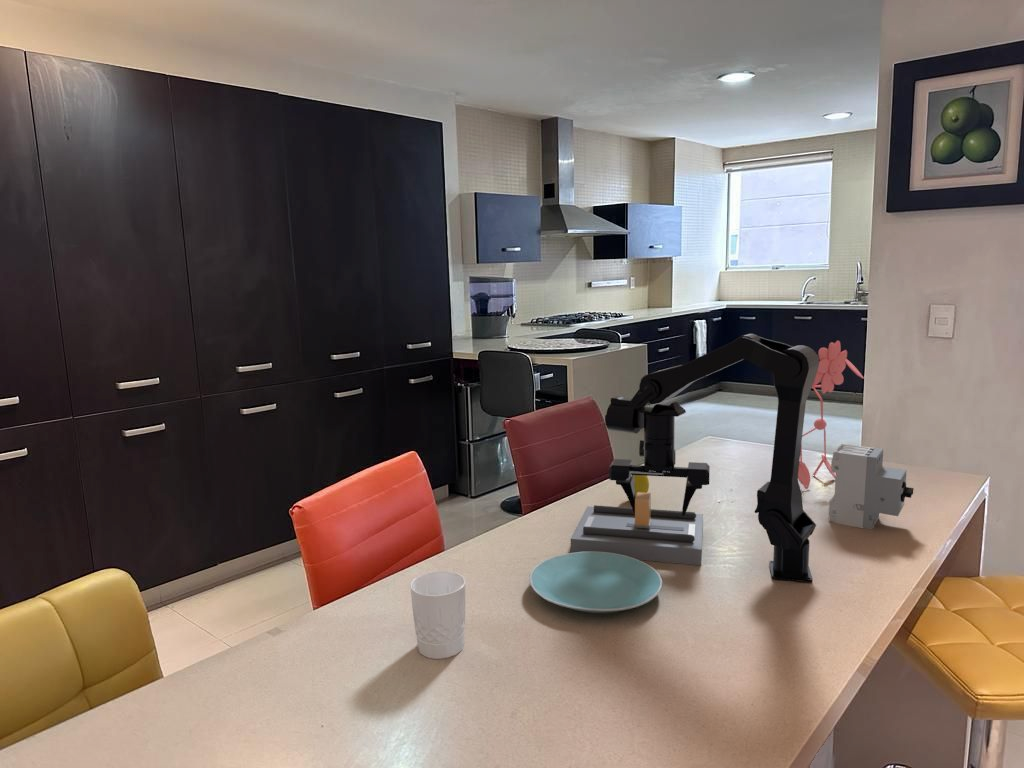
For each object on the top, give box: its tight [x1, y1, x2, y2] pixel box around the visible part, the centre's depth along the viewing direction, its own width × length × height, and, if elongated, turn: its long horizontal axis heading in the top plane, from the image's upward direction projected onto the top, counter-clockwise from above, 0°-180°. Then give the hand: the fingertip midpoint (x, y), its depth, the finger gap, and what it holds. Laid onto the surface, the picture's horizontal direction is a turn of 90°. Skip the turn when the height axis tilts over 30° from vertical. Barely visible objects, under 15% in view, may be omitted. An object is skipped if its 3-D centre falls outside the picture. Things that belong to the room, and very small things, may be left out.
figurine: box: [798, 340, 865, 490], centre depth 161 cm, size 15×26×35 cm, turn 121°
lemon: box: [634, 475, 650, 495], centre depth 158 cm, size 6×6×8 cm
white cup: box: [409, 570, 466, 660], centre depth 99 cm, size 8×8×10 cm
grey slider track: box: [583, 504, 697, 542], centre depth 135 cm, size 13×21×1 cm, turn 74°
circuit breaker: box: [827, 443, 914, 531], centre depth 140 cm, size 8×14×15 cm, turn 53°
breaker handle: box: [634, 492, 652, 528], centre depth 135 cm, size 4×3×6 cm
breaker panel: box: [570, 506, 704, 566], centre depth 136 cm, size 18×24×3 cm
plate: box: [529, 551, 663, 614], centre depth 115 cm, size 22×22×3 cm
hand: (659, 513), depth 134 cm, fingers open, 9 cm apart
